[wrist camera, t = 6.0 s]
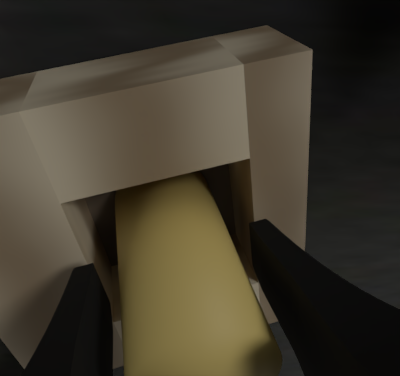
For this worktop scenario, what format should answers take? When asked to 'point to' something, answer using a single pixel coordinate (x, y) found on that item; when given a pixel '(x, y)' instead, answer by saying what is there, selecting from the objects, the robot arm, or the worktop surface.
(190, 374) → the dowel
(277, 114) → the socket block
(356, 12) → the worktop surface
